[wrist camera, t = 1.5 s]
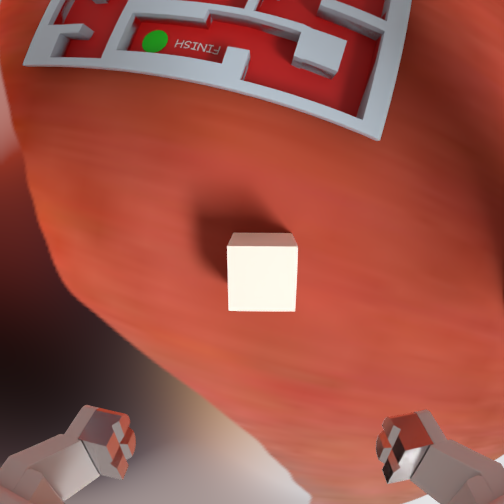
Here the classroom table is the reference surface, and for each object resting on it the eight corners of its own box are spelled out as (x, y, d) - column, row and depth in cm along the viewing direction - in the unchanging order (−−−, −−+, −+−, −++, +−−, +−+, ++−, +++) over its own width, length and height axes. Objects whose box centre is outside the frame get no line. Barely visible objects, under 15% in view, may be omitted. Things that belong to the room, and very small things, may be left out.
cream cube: (291, 232, 27) (298, 246, 22) (289, 287, 28) (295, 311, 23) (233, 232, 27) (227, 246, 22) (234, 287, 28) (228, 310, 23)
